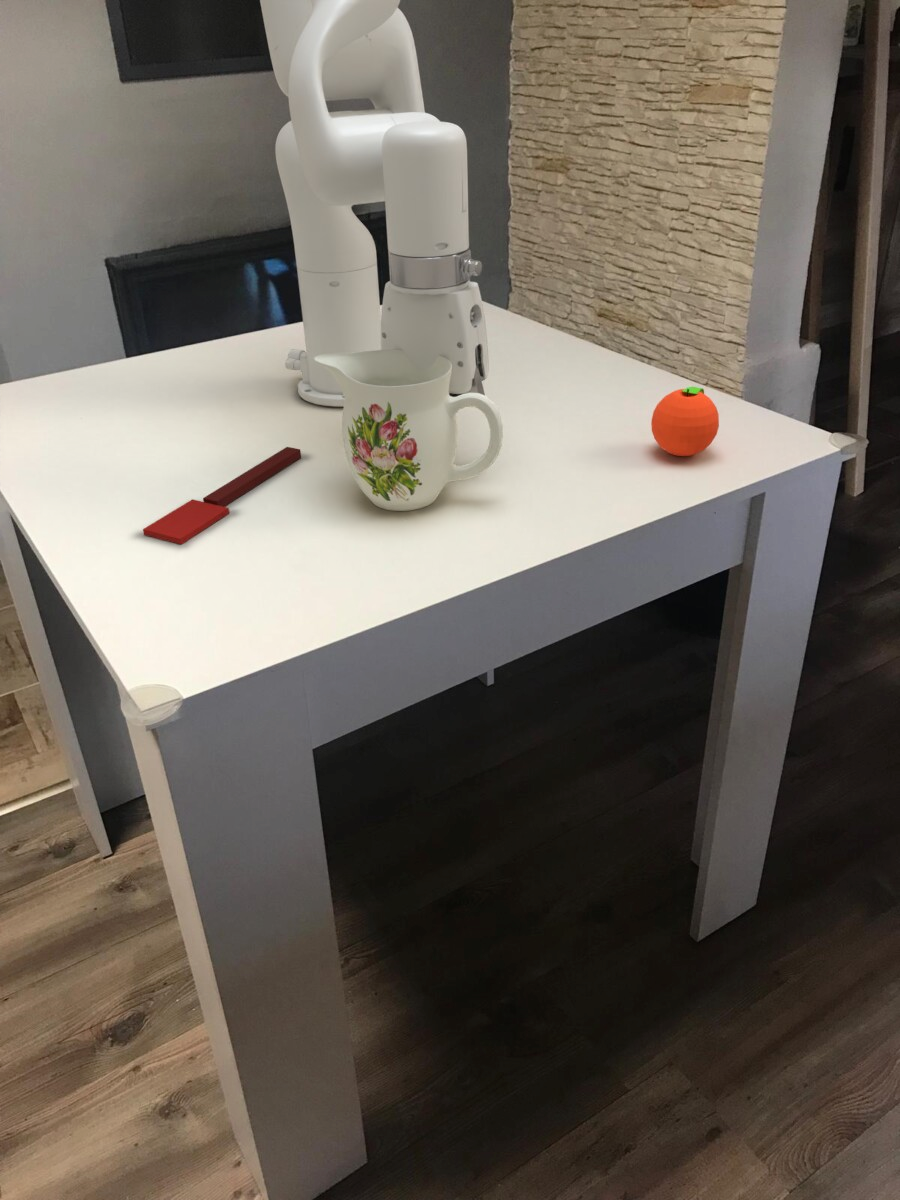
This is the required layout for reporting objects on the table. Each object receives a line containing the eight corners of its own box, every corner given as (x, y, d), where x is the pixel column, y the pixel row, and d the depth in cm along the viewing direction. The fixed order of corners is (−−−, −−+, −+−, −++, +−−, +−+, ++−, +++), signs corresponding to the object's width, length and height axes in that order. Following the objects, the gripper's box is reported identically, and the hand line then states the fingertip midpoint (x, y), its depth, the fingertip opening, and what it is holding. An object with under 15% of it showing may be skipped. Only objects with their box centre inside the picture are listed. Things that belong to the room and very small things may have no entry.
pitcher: (490, 530, 89) (489, 387, 82) (308, 514, 93) (291, 376, 86) (513, 480, 98) (513, 347, 91) (346, 467, 102) (334, 339, 95)
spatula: (143, 534, 90) (141, 525, 90) (277, 452, 106) (276, 444, 105) (181, 544, 88) (179, 535, 88) (312, 459, 104) (311, 451, 103)
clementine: (669, 433, 107) (675, 370, 103) (729, 445, 104) (737, 382, 100) (637, 457, 102) (642, 393, 98) (699, 472, 98) (707, 405, 94)
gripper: (518, 266, 90) (517, 449, 100) (381, 254, 96) (392, 427, 106) (483, 286, 84) (486, 477, 94) (340, 271, 90) (356, 453, 100)
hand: (436, 450), depth 100 cm, fingers closed
